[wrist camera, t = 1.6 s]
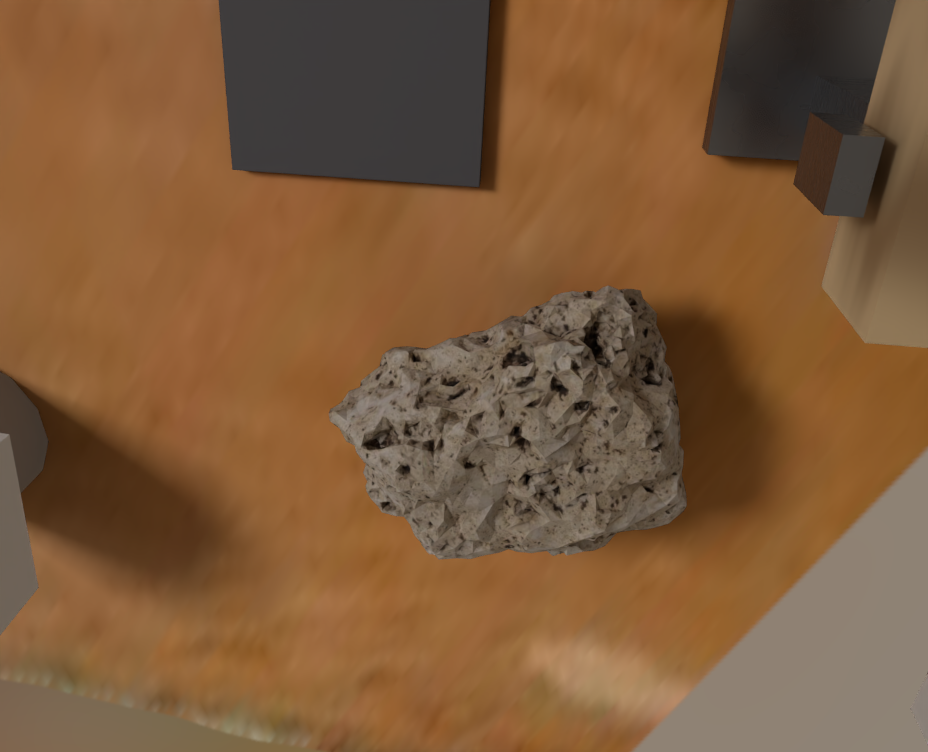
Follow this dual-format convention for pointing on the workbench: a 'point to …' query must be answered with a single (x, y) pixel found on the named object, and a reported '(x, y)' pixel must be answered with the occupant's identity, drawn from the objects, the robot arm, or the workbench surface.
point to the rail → (891, 200)
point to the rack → (802, 93)
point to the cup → (22, 431)
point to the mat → (357, 87)
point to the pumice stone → (526, 430)
